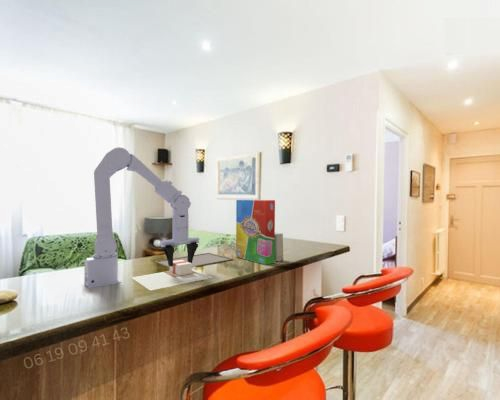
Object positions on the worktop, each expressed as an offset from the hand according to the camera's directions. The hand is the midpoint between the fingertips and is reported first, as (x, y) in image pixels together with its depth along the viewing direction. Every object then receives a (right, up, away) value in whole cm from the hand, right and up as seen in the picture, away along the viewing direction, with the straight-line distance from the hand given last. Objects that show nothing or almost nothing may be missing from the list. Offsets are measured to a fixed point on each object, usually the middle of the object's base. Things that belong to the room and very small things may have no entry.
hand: (180, 264), depth 103 cm
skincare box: (+37, -4, +23) cm, 44 cm away
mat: (-1, -3, -6) cm, 7 cm away
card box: (0, -3, 0) cm, 3 cm away
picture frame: (+1, -4, +21) cm, 21 cm away
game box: (+28, -4, +23) cm, 36 cm away
